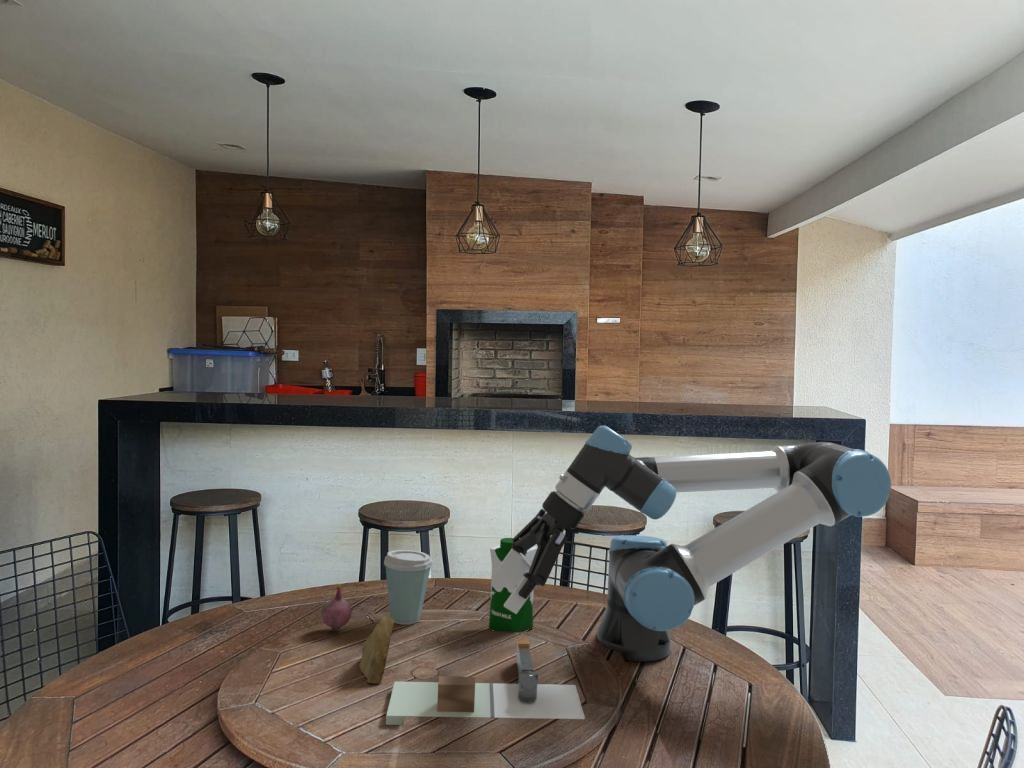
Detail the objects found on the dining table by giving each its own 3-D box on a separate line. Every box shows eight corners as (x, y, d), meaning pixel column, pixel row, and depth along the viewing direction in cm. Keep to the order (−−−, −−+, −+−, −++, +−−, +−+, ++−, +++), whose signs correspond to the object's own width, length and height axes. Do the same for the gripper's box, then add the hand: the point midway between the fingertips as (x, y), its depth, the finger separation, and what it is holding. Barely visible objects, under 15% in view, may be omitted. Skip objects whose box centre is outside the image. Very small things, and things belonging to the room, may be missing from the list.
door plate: (574, 693, 132) (575, 684, 132) (584, 727, 120) (585, 718, 120) (394, 689, 130) (394, 681, 130) (386, 724, 118) (386, 715, 118)
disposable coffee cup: (405, 607, 171) (407, 543, 170) (440, 619, 164) (443, 552, 163) (371, 620, 162) (373, 553, 161) (407, 633, 156) (409, 563, 155)
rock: (393, 677, 130) (415, 648, 140) (365, 637, 130) (389, 610, 140) (349, 702, 134) (374, 672, 143) (322, 663, 134) (349, 636, 143)
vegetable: (355, 633, 155) (357, 586, 154) (327, 638, 151) (328, 590, 151) (344, 623, 160) (346, 577, 159) (316, 628, 156) (318, 582, 156)
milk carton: (482, 630, 159) (486, 538, 158) (505, 618, 166) (509, 530, 165) (517, 641, 154) (521, 546, 153) (539, 628, 162) (543, 537, 161)
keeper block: (474, 703, 123) (475, 676, 123) (474, 712, 120) (475, 685, 120) (438, 702, 123) (439, 676, 123) (437, 711, 120) (438, 684, 120)
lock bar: (537, 702, 124) (538, 675, 124) (518, 702, 124) (519, 675, 123) (530, 660, 140) (531, 636, 140) (513, 659, 140) (514, 636, 140)
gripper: (539, 473, 149) (479, 559, 149) (570, 510, 125) (497, 613, 125) (569, 493, 151) (509, 578, 151) (604, 533, 126) (533, 634, 126)
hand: (503, 594), depth 138 cm, fingers open, 13 cm apart
